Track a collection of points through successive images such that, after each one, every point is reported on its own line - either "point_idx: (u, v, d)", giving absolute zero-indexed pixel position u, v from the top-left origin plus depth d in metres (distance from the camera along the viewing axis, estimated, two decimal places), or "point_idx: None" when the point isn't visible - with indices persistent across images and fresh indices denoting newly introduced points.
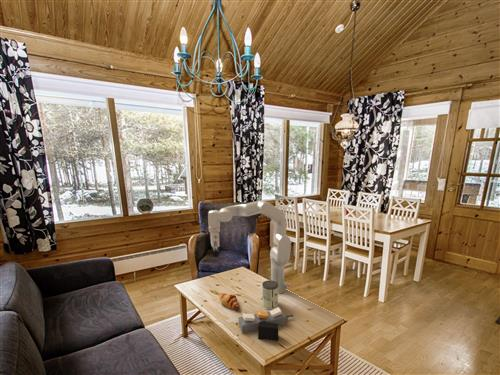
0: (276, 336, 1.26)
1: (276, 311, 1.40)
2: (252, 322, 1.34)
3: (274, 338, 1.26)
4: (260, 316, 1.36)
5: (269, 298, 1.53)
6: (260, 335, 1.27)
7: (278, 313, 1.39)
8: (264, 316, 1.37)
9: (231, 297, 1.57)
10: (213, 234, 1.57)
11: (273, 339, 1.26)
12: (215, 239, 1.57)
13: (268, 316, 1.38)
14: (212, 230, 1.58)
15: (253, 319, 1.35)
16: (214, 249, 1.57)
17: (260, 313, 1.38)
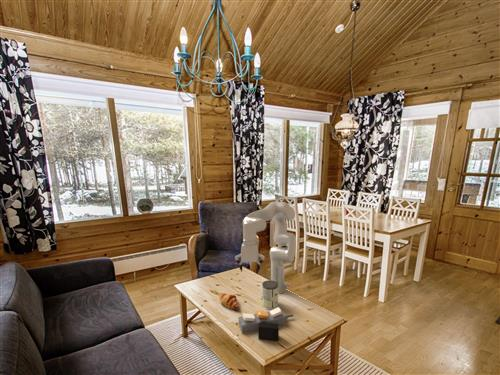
0: (276, 336, 1.26)
1: (276, 311, 1.40)
2: (252, 322, 1.34)
3: (275, 338, 1.26)
4: (260, 316, 1.36)
5: (269, 298, 1.53)
6: (260, 335, 1.27)
7: (278, 313, 1.39)
8: (264, 316, 1.37)
9: (231, 297, 1.57)
10: (257, 246, 1.40)
11: (273, 339, 1.26)
12: None
13: (268, 316, 1.38)
14: (255, 242, 1.39)
15: (253, 319, 1.35)
16: (259, 262, 1.41)
17: (260, 313, 1.38)
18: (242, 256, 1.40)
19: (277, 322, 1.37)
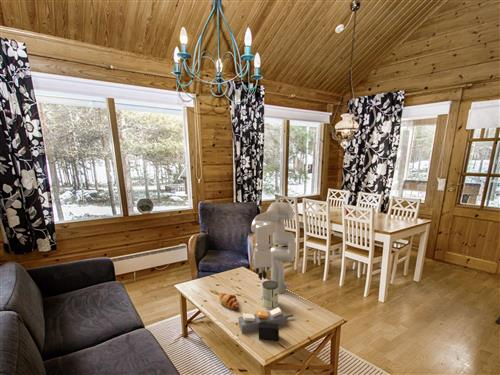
0: (277, 336, 1.26)
1: (276, 311, 1.40)
2: (252, 322, 1.34)
3: (275, 339, 1.26)
4: (260, 316, 1.36)
5: (269, 298, 1.53)
6: (260, 336, 1.27)
7: (278, 313, 1.39)
8: (264, 316, 1.37)
9: (231, 297, 1.57)
10: (270, 250, 1.35)
11: (274, 339, 1.26)
12: None
13: (268, 316, 1.38)
14: (269, 246, 1.34)
15: (253, 319, 1.35)
16: None
17: (260, 313, 1.38)
18: (256, 262, 1.33)
19: (277, 322, 1.37)
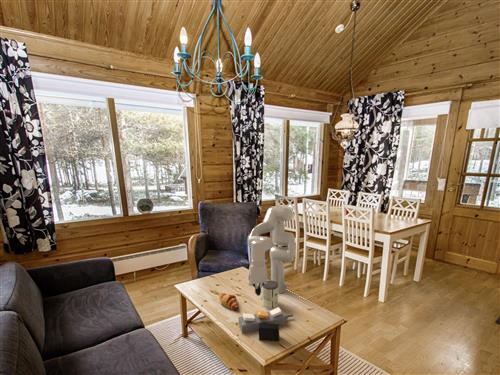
0: (277, 337, 1.25)
1: (276, 311, 1.40)
2: (252, 322, 1.34)
3: (275, 339, 1.26)
4: (260, 316, 1.36)
5: (269, 298, 1.53)
6: (261, 336, 1.26)
7: (278, 313, 1.39)
8: (264, 316, 1.37)
9: (230, 297, 1.57)
10: None
11: (274, 340, 1.26)
12: None
13: (268, 316, 1.38)
14: (264, 262, 1.34)
15: (253, 319, 1.35)
16: None
17: (260, 313, 1.38)
18: (251, 278, 1.33)
19: (277, 322, 1.37)
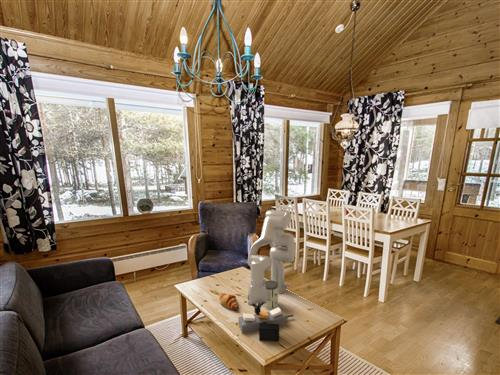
0: (277, 337, 1.25)
1: (276, 311, 1.40)
2: (252, 322, 1.34)
3: (276, 339, 1.25)
4: (260, 316, 1.36)
5: (269, 298, 1.53)
6: (261, 336, 1.26)
7: (278, 313, 1.39)
8: (264, 316, 1.37)
9: (230, 297, 1.57)
10: (265, 286, 1.36)
11: (274, 340, 1.26)
12: None
13: (268, 316, 1.38)
14: (264, 282, 1.35)
15: (253, 319, 1.35)
16: None
17: (260, 313, 1.38)
18: (251, 298, 1.34)
19: (277, 322, 1.37)
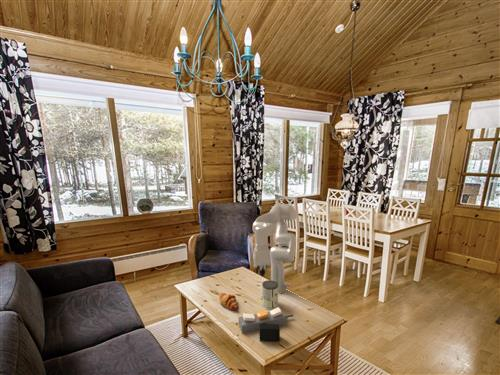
0: (278, 337, 1.25)
1: (276, 311, 1.40)
2: (252, 322, 1.34)
3: (276, 339, 1.25)
4: (260, 317, 1.36)
5: (269, 298, 1.53)
6: (262, 337, 1.26)
7: (278, 313, 1.39)
8: (264, 316, 1.37)
9: (230, 297, 1.57)
10: None
11: (275, 340, 1.25)
12: None
13: None
14: (267, 246, 1.45)
15: (253, 319, 1.35)
16: None
17: (259, 314, 1.38)
18: (256, 261, 1.44)
19: (277, 322, 1.37)
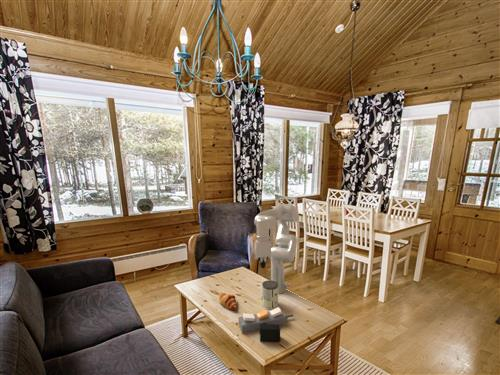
0: (278, 337, 1.25)
1: (276, 311, 1.40)
2: (252, 322, 1.34)
3: (276, 340, 1.25)
4: (260, 318, 1.36)
5: (269, 298, 1.53)
6: (262, 337, 1.25)
7: (278, 313, 1.39)
8: (264, 316, 1.37)
9: (229, 297, 1.57)
10: None
11: (275, 340, 1.25)
12: None
13: None
14: (268, 238, 1.49)
15: (253, 319, 1.35)
16: None
17: (259, 314, 1.38)
18: (257, 252, 1.47)
19: (277, 322, 1.37)
